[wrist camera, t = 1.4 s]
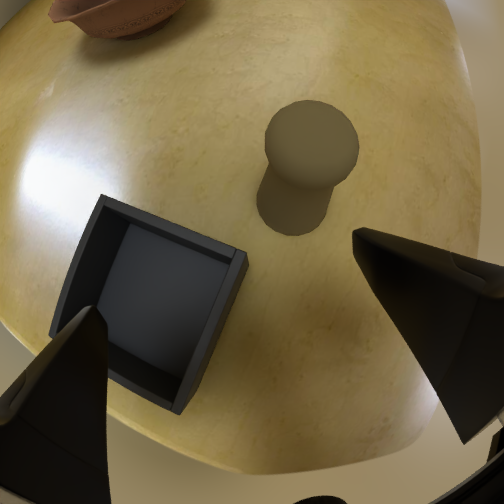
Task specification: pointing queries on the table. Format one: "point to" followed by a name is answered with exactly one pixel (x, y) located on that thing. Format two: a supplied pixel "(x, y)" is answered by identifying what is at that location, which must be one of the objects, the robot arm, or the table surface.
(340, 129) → the cork
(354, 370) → the table surface
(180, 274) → the dark grey square box
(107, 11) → the bowl
